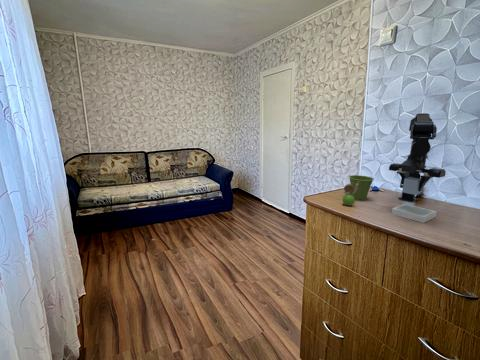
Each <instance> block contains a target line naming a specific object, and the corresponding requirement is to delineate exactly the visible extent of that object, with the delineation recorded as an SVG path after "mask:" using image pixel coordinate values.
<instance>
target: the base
mask: <svg viewBox="0 0 480 360" xmlns="http://www.w3.org/2000/svg"><path fill="white" fill-rule="evenodd" d="M391 215H394V216H399V217H402V218H406V219H409V220H413V221H416V222H420V223H422V224H425V223H426V222H429V221H430V220H432V219H435V218H436V216H437V211H436V210H431V209H430V208H429V209H428V208H424V207H420V206H417V205H412V204H408V203H404V204H401V205H398V206H395V207H392V210H391Z"/></svg>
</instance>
